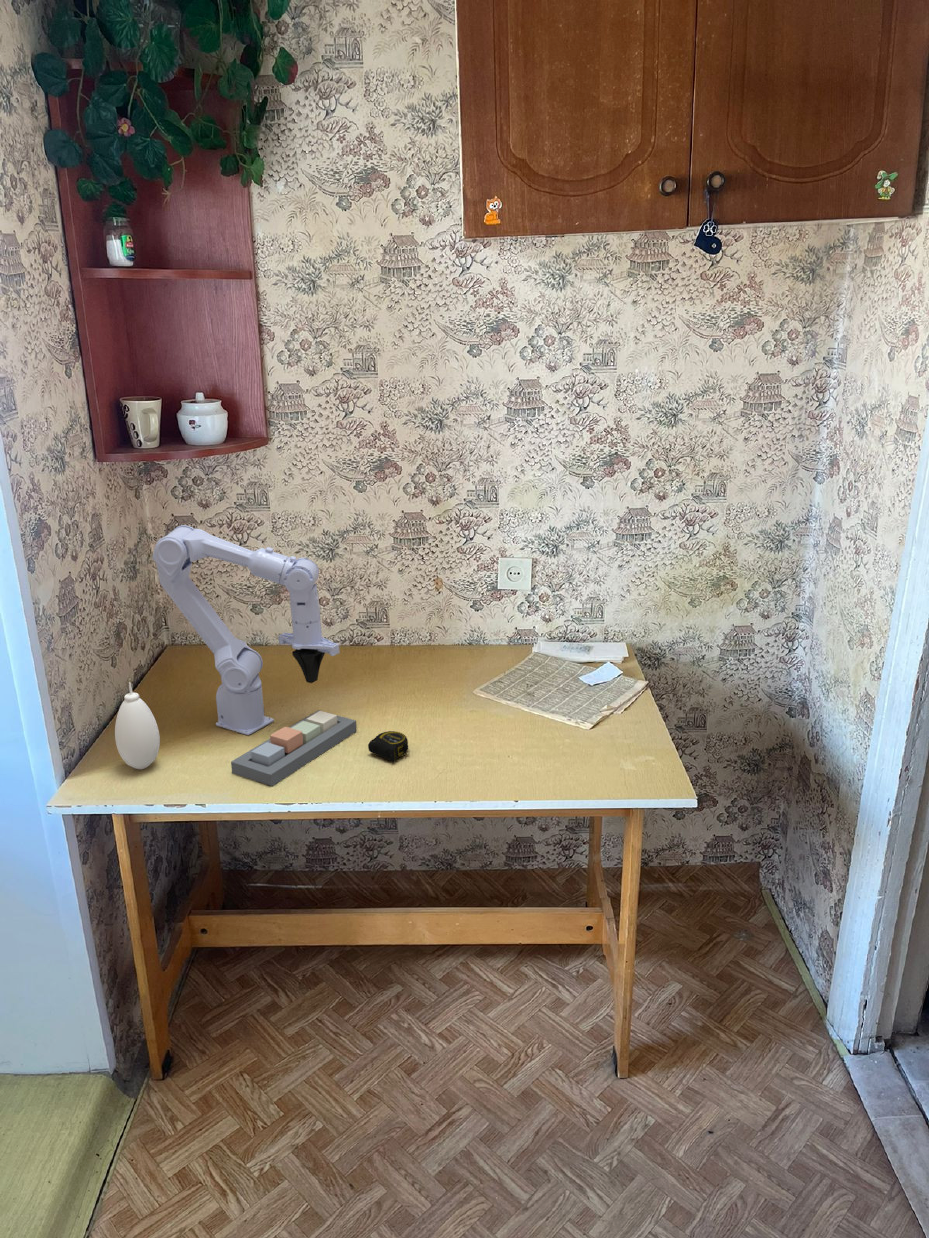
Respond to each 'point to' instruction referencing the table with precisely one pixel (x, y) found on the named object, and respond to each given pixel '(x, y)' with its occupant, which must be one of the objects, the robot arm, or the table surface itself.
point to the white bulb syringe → (136, 732)
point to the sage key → (308, 730)
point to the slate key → (267, 754)
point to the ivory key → (323, 720)
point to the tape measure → (389, 745)
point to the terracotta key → (287, 739)
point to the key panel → (293, 754)
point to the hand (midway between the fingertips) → (312, 681)
